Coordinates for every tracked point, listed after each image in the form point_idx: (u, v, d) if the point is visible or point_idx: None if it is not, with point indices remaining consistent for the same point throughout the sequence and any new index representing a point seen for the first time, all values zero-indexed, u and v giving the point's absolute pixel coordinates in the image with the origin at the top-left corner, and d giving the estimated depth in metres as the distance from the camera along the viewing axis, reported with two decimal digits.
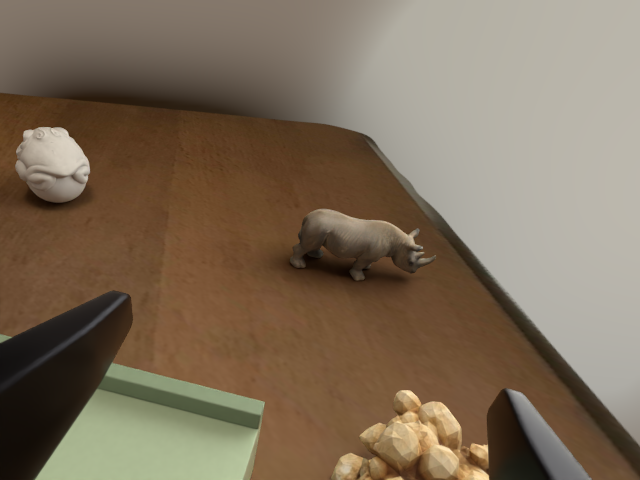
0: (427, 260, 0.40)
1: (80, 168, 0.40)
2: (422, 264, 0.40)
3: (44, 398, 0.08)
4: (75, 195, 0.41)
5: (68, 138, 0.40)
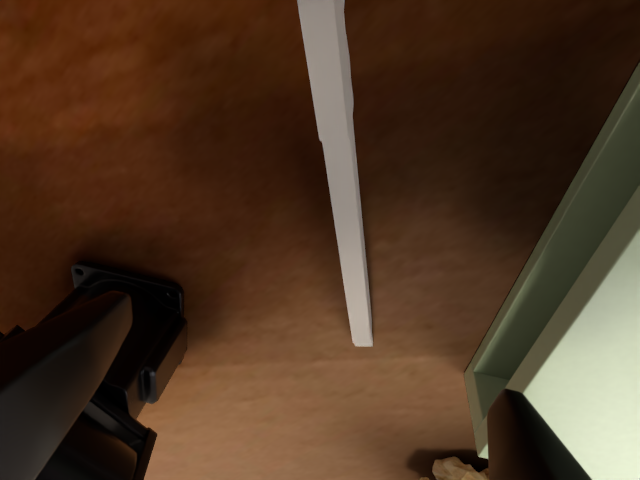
0: None
1: None
2: None
3: (44, 398, 0.08)
4: None
5: None
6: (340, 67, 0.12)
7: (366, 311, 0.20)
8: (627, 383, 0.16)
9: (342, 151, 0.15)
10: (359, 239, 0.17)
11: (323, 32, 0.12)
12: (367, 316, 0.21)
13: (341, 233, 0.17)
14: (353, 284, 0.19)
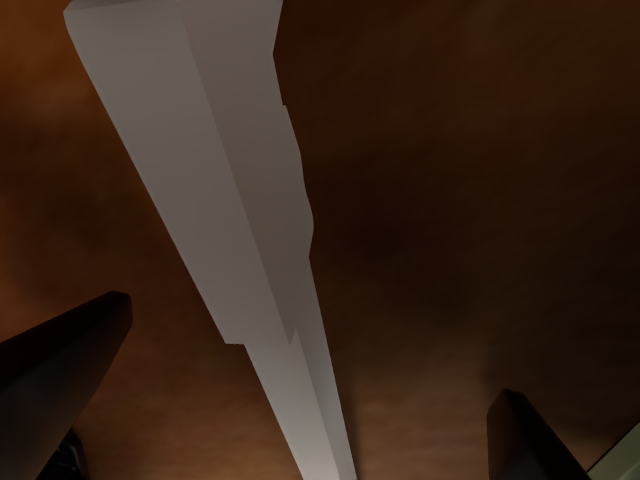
0: None
1: None
2: None
3: (44, 398, 0.08)
4: None
5: None
6: (248, 218, 0.04)
7: None
8: None
9: (283, 347, 0.07)
10: (331, 452, 0.09)
11: (180, 137, 0.04)
12: None
13: (297, 444, 0.09)
14: None
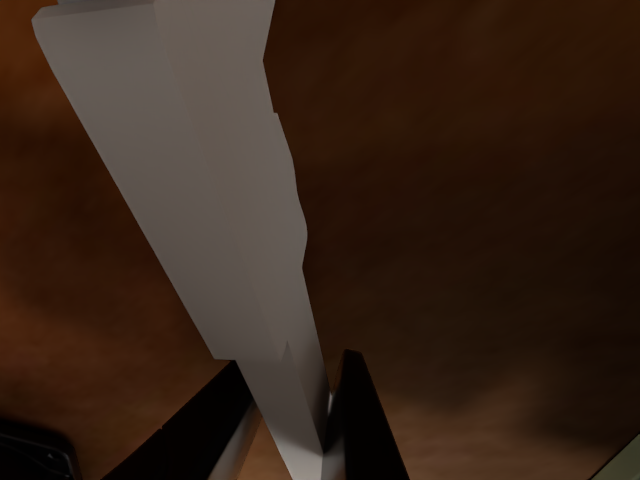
0: None
1: None
2: None
3: (237, 448, 0.08)
4: None
5: None
6: (234, 234, 0.04)
7: None
8: None
9: (275, 361, 0.07)
10: None
11: (161, 151, 0.04)
12: None
13: (291, 456, 0.09)
14: None
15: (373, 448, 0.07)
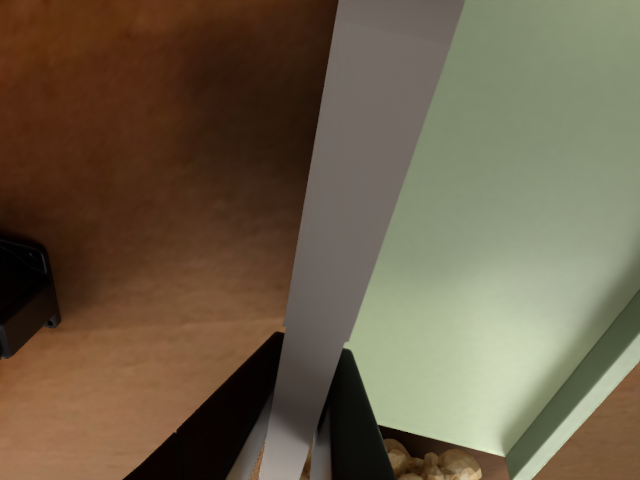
0: None
1: None
2: None
3: (250, 452, 0.08)
4: None
5: None
6: (391, 212, 0.05)
7: None
8: (411, 326, 0.17)
9: (324, 343, 0.07)
10: (304, 457, 0.09)
11: (382, 119, 0.04)
12: None
13: (275, 442, 0.09)
14: None
15: (360, 445, 0.07)
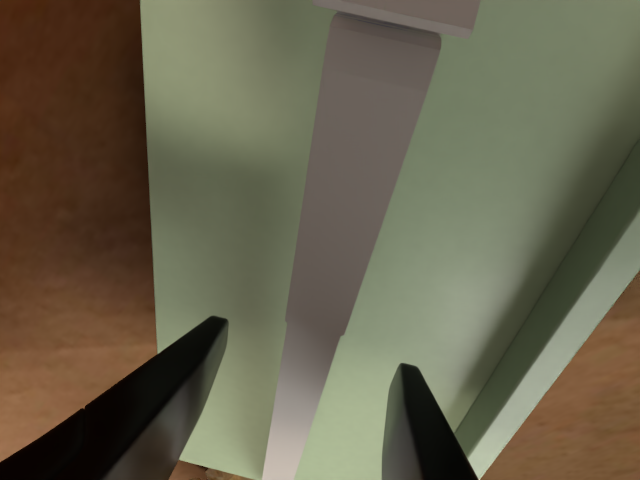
0: None
1: None
2: None
3: (169, 431, 0.08)
4: None
5: None
6: (378, 228, 0.05)
7: None
8: (252, 369, 0.14)
9: (323, 333, 0.07)
10: (308, 429, 0.10)
11: (368, 152, 0.04)
12: None
13: (281, 416, 0.10)
14: (280, 464, 0.12)
15: (449, 468, 0.07)
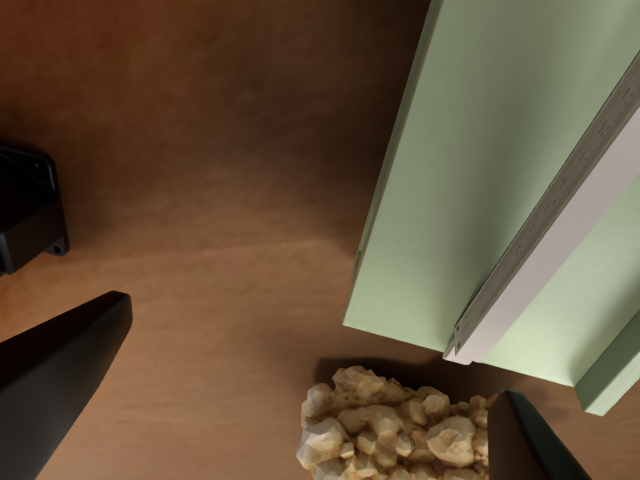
0: None
1: None
2: None
3: (44, 398, 0.08)
4: None
5: None
6: None
7: (510, 323, 0.14)
8: (476, 211, 0.14)
9: None
10: (595, 222, 0.11)
11: None
12: (505, 330, 0.15)
13: (576, 205, 0.11)
14: (526, 284, 0.13)
15: None
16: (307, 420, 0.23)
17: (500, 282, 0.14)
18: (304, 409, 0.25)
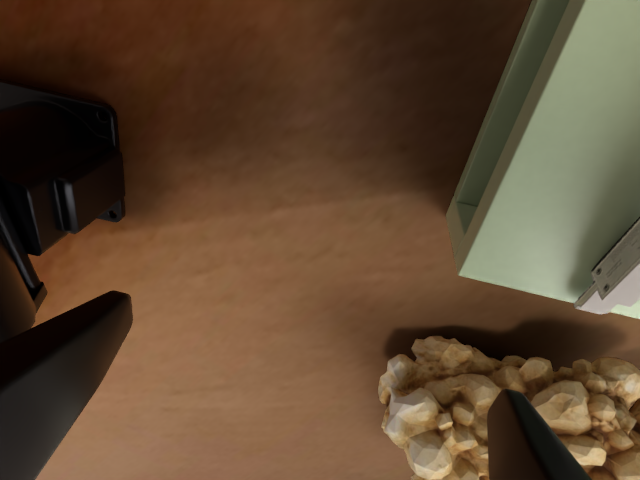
0: None
1: None
2: None
3: (44, 398, 0.08)
4: None
5: None
6: None
7: None
8: None
9: None
10: None
11: None
12: None
13: None
14: None
15: None
16: (394, 391, 0.21)
17: None
18: (385, 382, 0.23)
